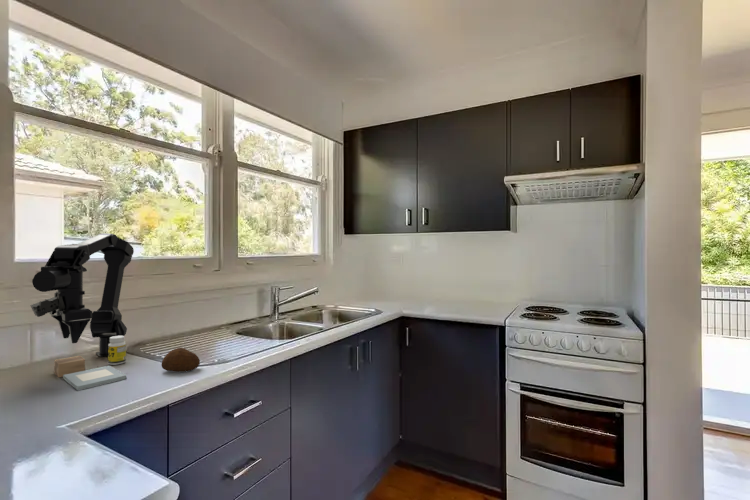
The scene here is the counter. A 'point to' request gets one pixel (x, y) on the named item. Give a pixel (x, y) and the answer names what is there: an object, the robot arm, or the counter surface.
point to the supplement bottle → (116, 350)
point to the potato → (180, 360)
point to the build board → (94, 377)
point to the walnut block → (69, 365)
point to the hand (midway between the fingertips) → (70, 340)
